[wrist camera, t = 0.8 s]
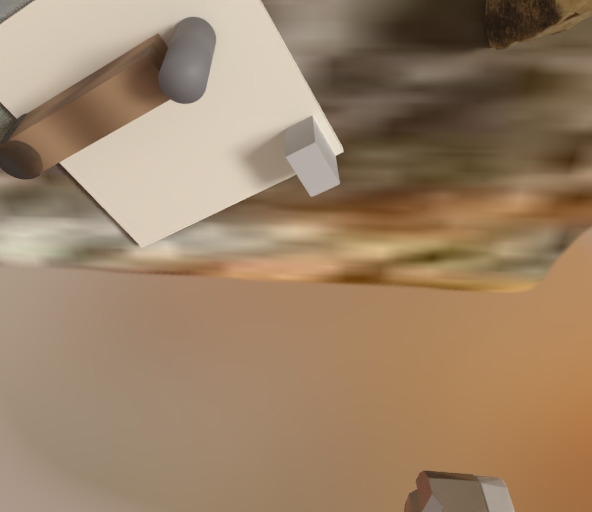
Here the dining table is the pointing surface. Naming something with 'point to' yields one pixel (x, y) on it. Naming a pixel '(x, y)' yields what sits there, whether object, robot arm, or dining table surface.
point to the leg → (85, 111)
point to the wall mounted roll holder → (176, 105)
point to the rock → (531, 19)
